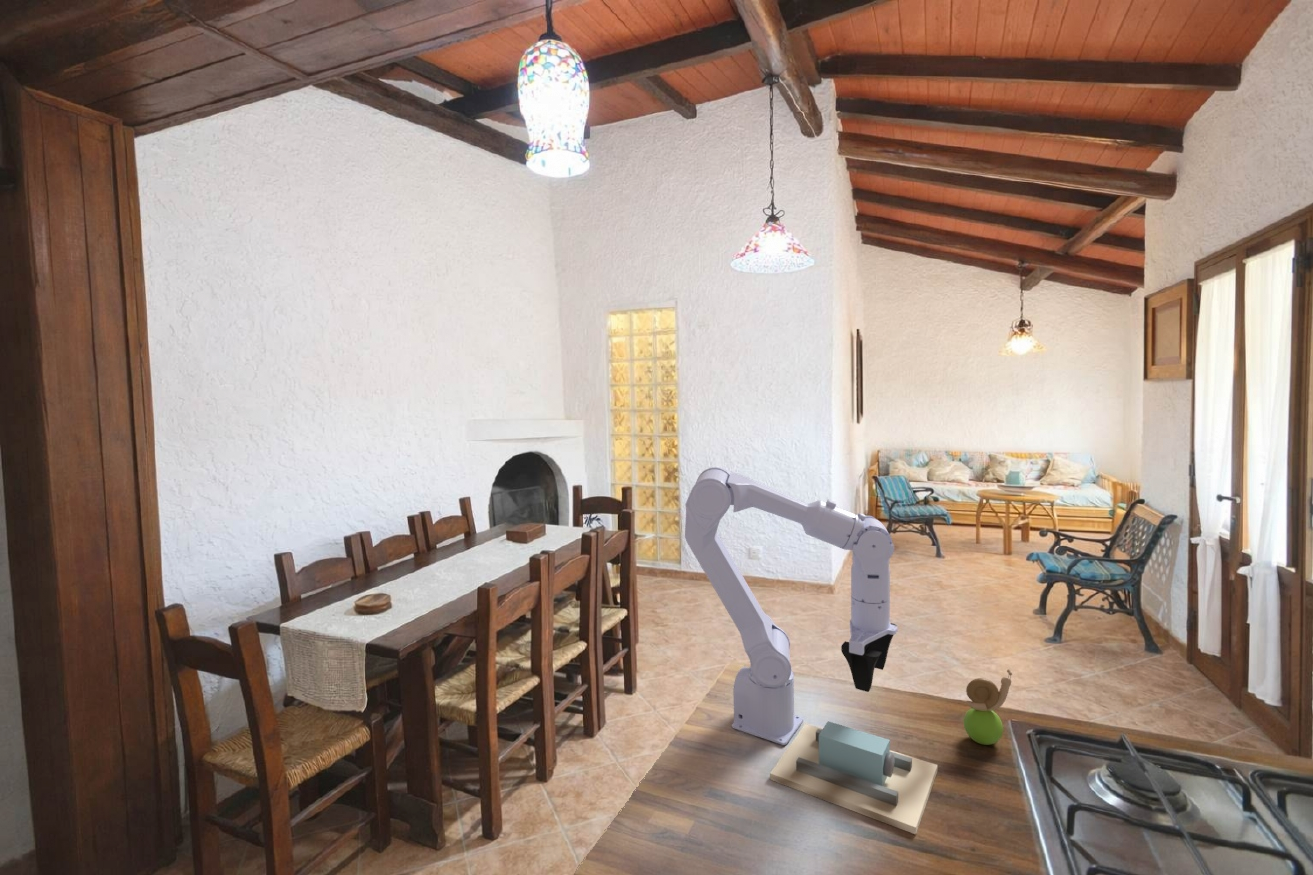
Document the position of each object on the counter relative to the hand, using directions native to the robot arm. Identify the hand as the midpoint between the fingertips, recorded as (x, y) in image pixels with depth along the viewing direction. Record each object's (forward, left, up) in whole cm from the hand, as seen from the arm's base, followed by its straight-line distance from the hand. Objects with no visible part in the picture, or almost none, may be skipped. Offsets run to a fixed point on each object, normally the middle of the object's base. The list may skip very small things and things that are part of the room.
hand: (869, 677), depth 99 cm
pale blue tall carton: (+1, -11, -8) cm, 14 cm away
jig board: (+1, -11, -9) cm, 15 cm away
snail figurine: (+16, +7, -10) cm, 20 cm away
